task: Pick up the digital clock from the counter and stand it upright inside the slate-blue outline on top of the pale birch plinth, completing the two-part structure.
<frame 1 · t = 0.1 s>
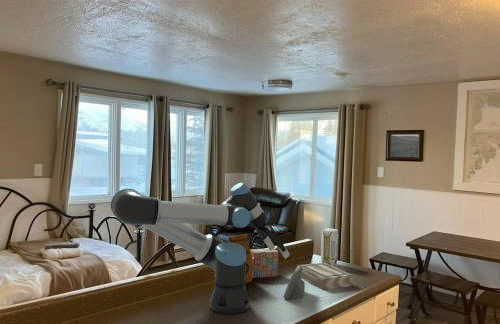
hand: (279, 252, 178), 15 cm above the kitchen counter, tool tilted 35°, fingers open, 13 cm apart
coffee package: (237, 283, 182), on the kitchen counter
juice carton: (329, 264, 217), on the kitchen counter
birch plinth: (323, 280, 189), on the kitchen counter
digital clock: (293, 295, 169), on the kitchen counter
stack of blocks: (254, 276, 194), on the kitchen counter
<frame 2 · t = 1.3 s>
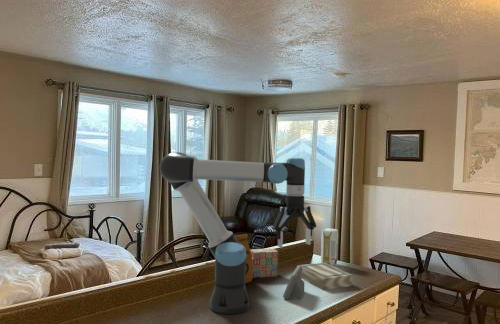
hand: (294, 245, 169), 21 cm above the kitchen counter, tool pointing down, fingers open, 13 cm apart
nothing on the kitchen counter moved.
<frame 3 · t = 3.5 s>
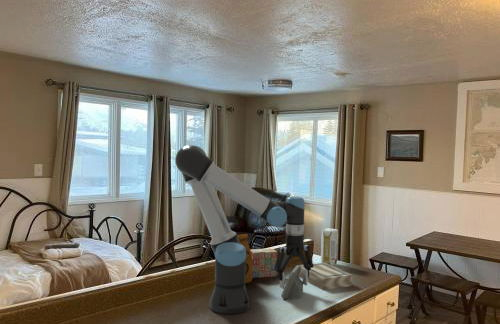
hand: (293, 286, 169), 3 cm above the kitchen counter, tool pointing down, fingers closed on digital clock, 10 cm apart
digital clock: (291, 294, 170), on the kitchen counter, touching gripper
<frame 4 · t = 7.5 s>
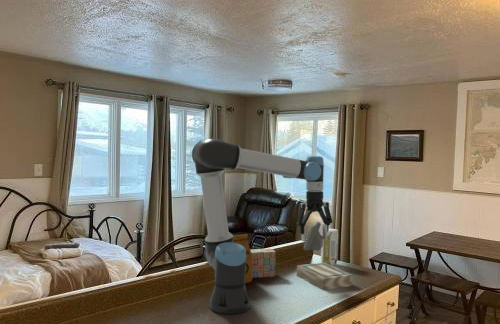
hand: (314, 240, 180), 21 cm above the kitchen counter, tool pointing down, fingers closed on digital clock, 10 cm apart
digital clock: (312, 248, 180), point 17 cm above the kitchen counter, touching gripper
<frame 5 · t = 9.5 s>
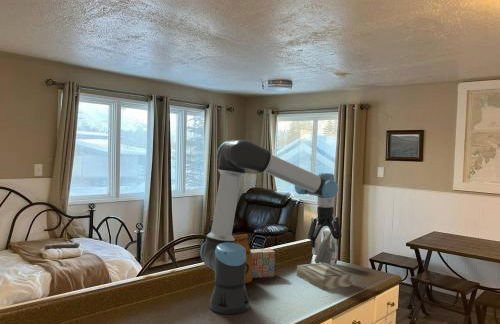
hand: (324, 253, 189), 13 cm above the kitchen counter, tool pointing down, fingers closed on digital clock, 10 cm apart
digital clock: (322, 260, 189), point 9 cm above the kitchen counter, touching gripper
when the fingers open (10 cm above the kitchen counter, at t = 11.1 s): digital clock drops 1 cm, resting on birch plinth.
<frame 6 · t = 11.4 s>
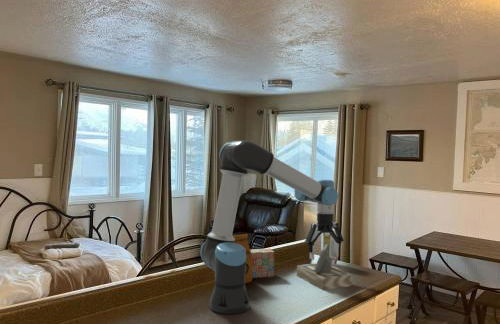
hand: (324, 257, 189), 11 cm above the kitchen counter, tool pointing down, fingers open, 13 cm apart
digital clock: (321, 269, 189), point 5 cm above the kitchen counter, touching birch plinth
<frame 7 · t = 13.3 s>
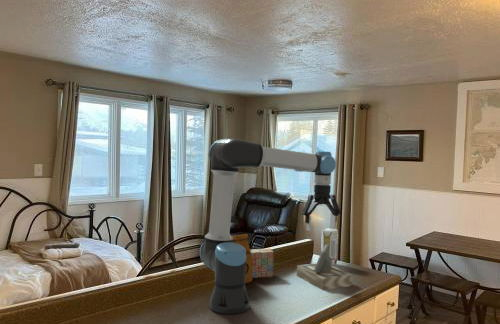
hand: (320, 229, 188), 24 cm above the kitchen counter, tool pointing down, fingers open, 13 cm apart
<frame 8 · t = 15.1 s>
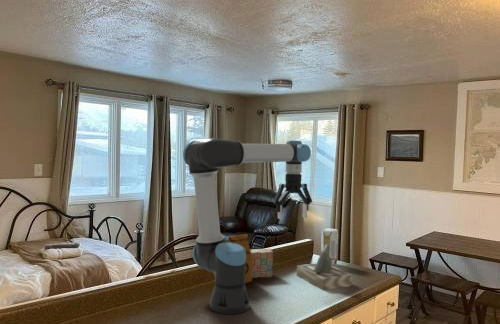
hand: (292, 218, 190), 29 cm above the kitchen counter, tool pointing down, fingers open, 13 cm apart
at the end: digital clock 0.9 cm off-centre on the birch plinth, point 5.0 cm above the birch plinth's base; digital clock tilted 0°; the gripper is holding nothing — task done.
